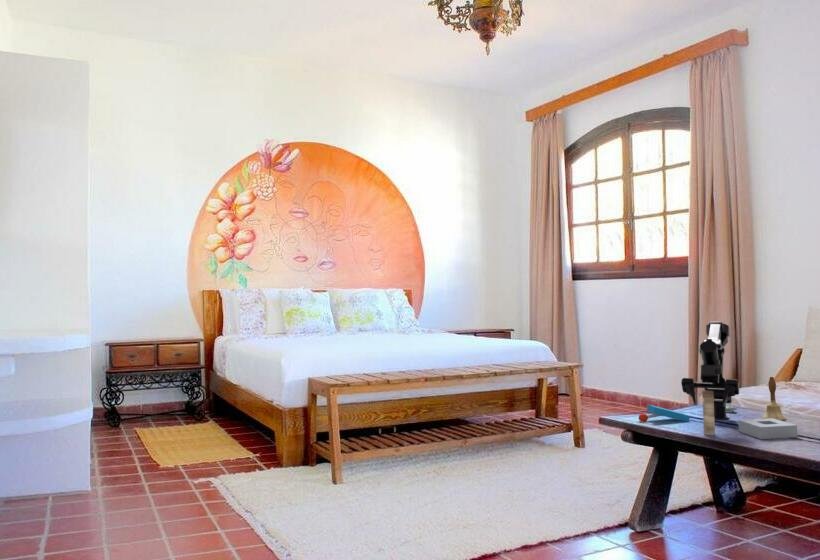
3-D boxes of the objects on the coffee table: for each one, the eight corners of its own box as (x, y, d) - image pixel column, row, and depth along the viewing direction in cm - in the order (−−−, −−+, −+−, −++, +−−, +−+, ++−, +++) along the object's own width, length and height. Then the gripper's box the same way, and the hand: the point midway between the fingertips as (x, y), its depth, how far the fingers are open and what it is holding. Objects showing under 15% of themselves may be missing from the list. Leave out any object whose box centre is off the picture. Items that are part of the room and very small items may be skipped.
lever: (678, 430, 271) (634, 419, 270) (682, 413, 271) (638, 402, 271) (686, 433, 264) (641, 422, 264) (690, 416, 265) (645, 404, 264)
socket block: (738, 431, 244) (738, 420, 244) (773, 429, 245) (772, 418, 245) (761, 439, 231) (760, 427, 231) (797, 437, 232) (797, 425, 232)
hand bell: (760, 419, 264) (759, 377, 264) (763, 416, 271) (761, 375, 271) (785, 421, 259) (783, 378, 259) (787, 417, 266) (785, 376, 266)
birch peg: (702, 433, 243) (701, 390, 243) (713, 433, 243) (711, 390, 243) (705, 435, 240) (703, 391, 240) (716, 435, 239) (714, 391, 239)
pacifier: (722, 413, 279) (738, 413, 279) (721, 398, 279) (737, 397, 279) (716, 410, 286) (731, 409, 286) (715, 395, 287) (730, 394, 286)
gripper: (681, 355, 252) (677, 389, 242) (737, 356, 243) (736, 392, 233) (684, 374, 259) (681, 408, 249) (739, 376, 250) (738, 411, 240)
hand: (708, 405), depth 243 cm, fingers open, 9 cm apart
